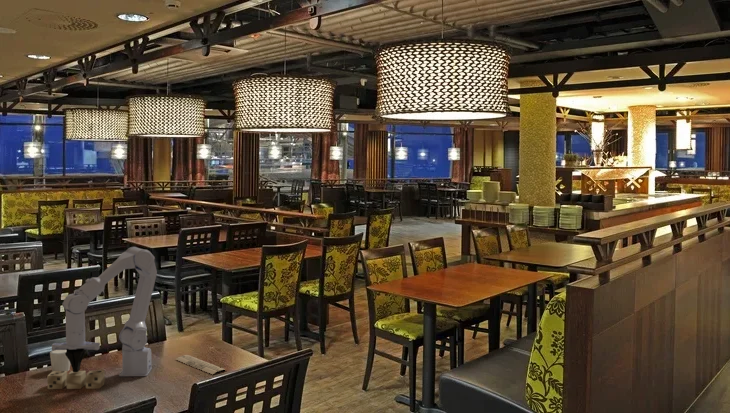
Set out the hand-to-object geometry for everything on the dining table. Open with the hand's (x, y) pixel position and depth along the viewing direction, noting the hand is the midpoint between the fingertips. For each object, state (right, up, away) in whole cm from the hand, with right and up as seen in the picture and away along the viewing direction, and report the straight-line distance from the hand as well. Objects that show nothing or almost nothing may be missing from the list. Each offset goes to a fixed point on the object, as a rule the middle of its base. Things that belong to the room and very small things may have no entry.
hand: (76, 371), depth 204 cm
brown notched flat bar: (+35, -5, +22) cm, 42 cm away
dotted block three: (-6, -5, 0) cm, 8 cm away
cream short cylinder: (-13, -4, +15) cm, 20 cm away
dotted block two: (+6, -5, +1) cm, 8 cm away
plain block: (0, -5, 0) cm, 5 cm away
